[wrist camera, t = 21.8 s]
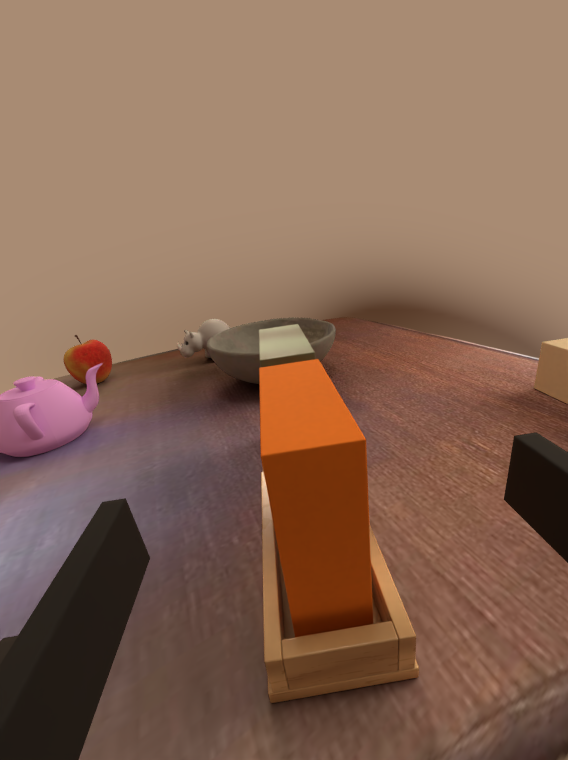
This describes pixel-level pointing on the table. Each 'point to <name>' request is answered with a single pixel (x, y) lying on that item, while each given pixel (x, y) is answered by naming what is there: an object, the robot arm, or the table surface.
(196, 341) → the round bodied animal figurine
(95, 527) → the robot arm
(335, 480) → the orange rectangular block
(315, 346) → the bowl
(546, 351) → the pad riser
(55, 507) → the table surface
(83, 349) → the apple
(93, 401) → the teapot
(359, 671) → the pad holder
